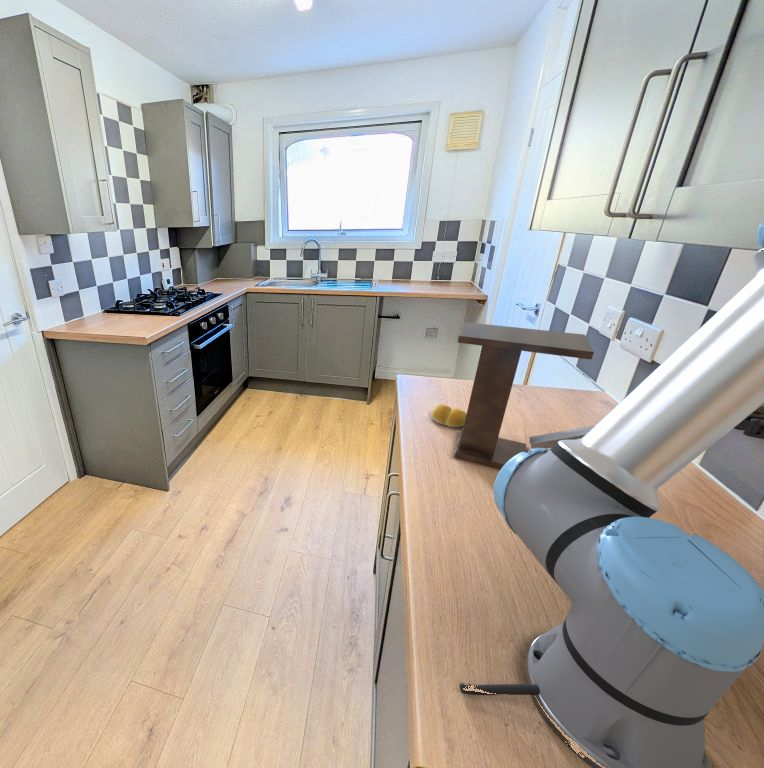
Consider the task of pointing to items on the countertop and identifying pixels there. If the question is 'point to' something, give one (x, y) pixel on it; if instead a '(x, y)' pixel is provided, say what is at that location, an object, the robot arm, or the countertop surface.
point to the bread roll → (448, 416)
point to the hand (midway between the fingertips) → (670, 403)
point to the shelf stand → (503, 384)
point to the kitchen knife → (576, 435)
